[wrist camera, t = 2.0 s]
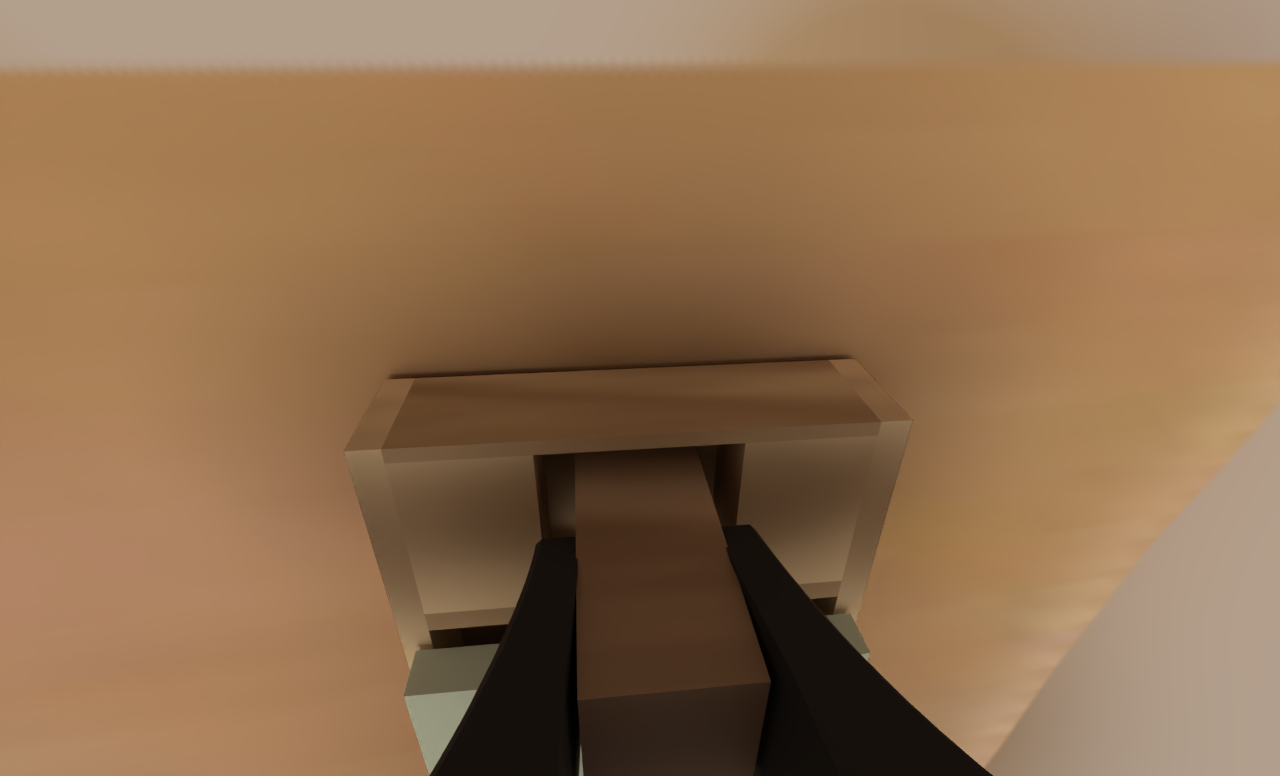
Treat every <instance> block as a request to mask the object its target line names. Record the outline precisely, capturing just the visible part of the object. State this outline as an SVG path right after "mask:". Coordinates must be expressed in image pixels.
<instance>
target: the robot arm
mask: <svg viewBox="0 0 1280 776" xmlns="http://www.w3.org/2000/svg"><path fill="white" fill-rule="evenodd" d="M721 527H722V530H723V534H724V537H725V540H726V543H727V546H728V547H726V549H727V553H728V556H729V559H730V562H731V565H732V567H733V569H734V571H735V574H736V576H737V578H738V581H739V583H740V587H741V590H742V593H743V596H744V599H745V602H746V605H747V608H748V611H749V615H750V618H751V621H752V624H753V627H754V630H755V633H756V636H757V640H758V643H759V646H760V649H761V652H762V655H763V658H764V661H765V664H766V668H767V671H768V674H769V677H770V680H771V684H770V690H769V695H768V700H767V706H766V711H765V716H764V722H763V727H762V732H761V738H760V743H759V748H758V754H757V759H756V764H755V770H754V775H753V776H993V775H992V774H990V773H989V772H988V771H986V770H985V769H984V768H983V767H982V766H980V765H979V764H978V763H977V762H976V761H974V760H973V759H972V758H971V757H970V756H969V755H968V754H966V753H965V752H964V751H963V750H962V749H961V748H959V747H958V746H957V745H956V744H955V743H954V742H953V741H951V740H950V739H949V738H948V737H947V736H946V735H944V734H943V733H942V732H941V731H940V730H939V729H938V728H937V727H935V726H934V725H933V724H932V723H931V722H930V721H929V720H928V719H927V718H926V717H925V716H923V715H922V714H921V713H920V712H919V711H918V710H917V709H916V708H915V707H914V706H913V705H911V704H910V703H909V702H908V701H907V700H906V699H905V698H904V697H903V696H902V695H901V694H900V693H899V692H898V691H897V690H896V689H895V688H894V687H893V686H892V685H891V684H890V683H889V682H888V681H887V680H886V679H885V678H884V677H883V676H882V675H881V674H880V673H879V672H878V671H877V670H876V669H875V668H874V667H873V666H872V665H871V664H870V663H869V662H868V661H867V660H866V659H865V658H864V657H863V656H862V655H861V654H860V653H859V652H858V651H857V650H856V649H855V648H854V647H853V646H852V644H851V643H850V642H849V641H848V640H847V639H846V638H845V637H844V636H843V635H842V634H841V633H840V632H839V630H838V629H837V628H836V627H835V626H834V625H833V624H832V622H831V621H830V620H829V619H828V618H827V617H826V616H825V615H824V613H823V612H822V611H821V610H820V609H819V608H818V607H817V605H816V604H815V603H814V602H813V601H812V600H811V599H810V597H809V596H808V595H807V594H806V593H805V592H804V590H803V589H802V588H801V587H800V586H799V584H798V583H797V582H796V581H795V579H794V578H793V577H792V576H791V575H790V573H789V572H788V571H787V570H786V568H785V567H784V566H783V565H782V563H781V562H780V561H779V560H778V558H777V557H776V556H775V555H774V553H773V552H772V551H771V549H770V548H769V547H768V546H767V544H766V543H765V542H764V540H763V539H762V538H761V536H760V535H759V534H758V532H757V531H756V530H755V529H754V528H753V527H752V526H751V525H750V524H747V525H733V526H721ZM577 578H578V558H577V559H576V537H562V538H548V539H541V540H540V541H539V542H538V543H537V544H536V546H535V550H534V555H533V559H532V562H531V565H530V569H529V572H528V575H527V578H526V581H525V583H524V586H523V589H522V592H521V594H520V597H519V599H518V602H517V605H516V607H515V610H514V612H513V614H512V617H511V619H510V621H509V624H508V626H507V628H506V630H505V633H504V635H503V637H502V640H501V642H500V644H499V647H498V649H497V651H496V653H495V655H494V657H493V659H492V662H491V664H490V665H489V667H488V669H487V671H486V673H485V675H484V677H483V679H482V681H481V683H480V685H479V687H478V689H477V691H476V693H475V695H474V697H473V699H472V701H471V703H470V705H469V707H468V709H467V711H466V713H465V715H464V716H463V718H462V720H461V722H460V724H459V725H458V727H457V729H456V731H455V733H454V734H453V736H452V738H451V740H450V741H449V743H448V745H447V747H446V748H445V750H444V752H443V754H442V755H441V757H440V759H439V760H438V762H437V764H436V765H435V767H434V769H433V770H432V772H431V774H430V775H429V776H579V766H580V749H581V739H580V727H579V714H578V702H577V619H576V587H577Z"/></svg>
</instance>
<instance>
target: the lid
mask: <svg viewBox="0 0 1280 776" xmlns="http://www.w3.org/2000/svg"><path fill="white" fill-rule="evenodd" d="M825 616H826V617H827V618H828V619H829V620H830V621H831V622H832V624H833V625H834V626H835V627H836V628H837V629H838V630H839V632H840V633H841V634H842V635H843V636H844V637H845V638H846V639H847V640H848V641H849V642H850V643H851V644H852V646H853V647H854V648H855V649H856V650H857V651H858V652H859V653H860V654H861V655H862V656H863V657H864V658H865V659H866V660H867V661H868V659H869V656H870V652H869V650H868V648H867V646H866V644H865V642H864V640H863V638H862V636H861V634H860V632H859V630H858V628H857V626H856V624H855V622H854V620H853V618H852V616H851V614H850V613H848V614H837V615H825ZM498 647H499V644H489V645H477V646H465V647H454V648H442V649H431V650H419V651H416V652H415V655H414V659H413V663H412V667H411V671H410V675H409V679H408V682H407V686H406V690H405V694H404V699H405V702H406V705H407V708H408V711H409V714H410V717H411V720H412V723H413V726H414V730H415V733H416V736H417V739H418V742H419V745H420V748H421V751H422V754H423V757H424V760H425V763H426V767H427V770H428V773H429V775H430V774H431V772H432V770H433V769H434V767H435V765H436V764H437V762H438V760H439V759H440V757H441V755H442V754H443V752H444V750H445V748H446V747H447V745H448V743H449V741H450V740H451V738H452V736H453V734H454V733H455V731H456V729H457V727H458V725H459V724H460V722H461V720H462V718H463V716H464V715H465V713H466V711H467V709H468V707H469V705H470V703H471V701H472V699H473V697H474V695H475V693H476V691H477V689H478V687H479V685H480V683H481V681H482V679H483V677H484V675H485V673H486V671H487V669H488V667H489V665H490V664H491V662H492V659H493V657H494V655H495V653H496V651H497V649H498ZM579 776H583V764H582V751H581V749H580V766H579Z"/></svg>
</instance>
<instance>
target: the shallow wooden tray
mask: <svg viewBox="0 0 1280 776" xmlns="http://www.w3.org/2000/svg"><path fill="white" fill-rule="evenodd" d="M912 421H913V420H912V419H911V418H910V417H909V416H908V415H907V413H906V412H905V411H904V410H903V409H902V408H901V407H900V406H899V405H898V404H897V403H896V402H895V401H894V400H893V399H892V398H891V396H890V395H889V394H888V393H887V392H886V391H885V390H884V389H883V388H882V387H881V386H880V385H879V384H878V383H877V382H876V381H875V379H874V378H873V377H872V376H871V375H870V374H869V373H868V372H867V371H866V370H865V369H864V368H863V367H862V366H861V365H860V364H859V362H858V361H857V360H856V359H839V360H816V361H794V362H771V363H748V364H726V365H703V366H681V367H658V368H635V369H613V370H590V371H568V372H545V373H522V374H500V375H477V376H455V377H432V378H409V379H387V380H384V382H383V384H382V385H381V387H380V389H379V391H378V392H377V394H376V396H375V398H374V399H373V401H372V403H371V405H370V406H369V408H368V410H367V411H366V413H365V415H364V417H363V418H362V420H361V422H360V424H359V425H358V427H357V429H356V431H355V432H354V434H353V436H352V438H351V439H350V441H349V443H348V445H347V446H346V448H345V450H344V455H345V458H346V461H347V464H348V468H349V471H350V474H351V478H352V481H353V484H354V487H355V491H356V494H357V497H358V501H359V504H360V507H361V510H362V514H363V517H364V520H365V524H366V527H367V530H368V534H369V537H370V540H371V543H372V547H373V550H374V553H375V557H376V560H377V563H378V566H379V570H380V573H381V576H382V580H383V583H384V586H385V589H386V593H387V596H388V599H389V603H390V606H391V609H392V612H393V616H394V619H395V622H396V626H397V629H398V632H399V635H400V639H401V642H402V645H403V649H404V652H405V655H406V658H407V662H408V665H409V668H410V671H411V667H412V663H413V659H414V655H415V652H416V651H419V650H431V649H442V648H454V647H465V646H477V645H489V644H500V642H501V640H502V637H503V635H504V633H505V630H506V628H507V626H508V624H509V621H510V619H511V617H512V614H513V612H514V610H515V607H516V605H517V602H518V599H519V597H520V594H521V592H522V589H523V586H524V583H525V581H526V578H527V575H528V572H529V569H530V565H531V562H532V559H533V555H534V550H535V546H536V544H537V543H538V542H539V541H540V540H541V539H548V538H562V537H576V525H575V453H581V452H599V451H616V450H634V449H651V448H669V447H686V446H696V449H697V453H698V456H699V459H700V462H701V465H702V468H703V471H704V474H705V477H706V481H707V484H708V487H709V490H710V493H711V496H712V499H713V502H714V506H715V509H716V512H717V515H718V518H719V521H720V524H721V526H733V525H747V524H750V525H751V526H752V527H753V528H754V529H755V530H756V531H757V532H758V534H759V535H760V536H761V538H762V539H763V540H764V542H765V543H766V544H767V546H768V547H769V548H770V549H771V551H772V552H773V553H774V555H775V556H776V557H777V558H778V560H779V561H780V562H781V563H782V565H783V566H784V567H785V568H786V570H787V571H788V572H789V573H790V575H791V576H792V577H793V578H794V579H795V581H796V582H797V583H798V584H799V586H800V587H801V588H802V589H803V590H804V592H805V593H806V594H807V595H808V596H809V597H810V599H811V600H812V601H813V602H814V603H815V604H816V605H817V607H818V608H819V609H820V610H821V611H822V612H823V613H824V615H837V614H848V613H850V614H851V616H852V618H853V620H854V622H855V624H856V620H857V617H858V613H859V610H860V606H861V602H862V599H863V595H864V592H865V588H866V585H867V581H868V578H869V574H870V570H871V567H872V563H873V560H874V556H875V553H876V549H877V546H878V542H879V539H880V535H881V531H882V528H883V524H884V521H885V517H886V514H887V510H888V507H889V503H890V499H891V496H892V492H893V489H894V485H895V482H896V478H897V475H898V471H899V467H900V464H901V460H902V457H903V453H904V450H905V446H906V443H907V439H908V436H909V432H910V428H911V425H912Z"/></svg>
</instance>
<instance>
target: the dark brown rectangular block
mask: <svg viewBox="0 0 1280 776" xmlns="http://www.w3.org/2000/svg"><path fill="white" fill-rule="evenodd" d="M575 525H576V559H577V558H578V578H577V587H576V619H577V702H578V714H579V727H580V739H581V751H582V764H583V776H753V775H754V770H755V764H756V759H757V754H758V748H759V743H760V738H761V732H762V727H763V722H764V716H765V711H766V706H767V700H768V695H769V690H770V684H771V680H770V677H769V674H768V671H767V668H766V664H765V661H764V658H763V655H762V652H761V649H760V646H759V643H758V640H757V636H756V633H755V630H754V627H753V624H752V621H751V618H750V615H749V611H748V608H747V605H746V602H745V599H744V596H743V593H742V590H741V587H740V583H739V581H738V578H737V576H736V574H735V571H734V569H733V567H732V565H731V562H730V559H729V556H728V553H727V549H726V547H728V546H727V543H726V540H725V537H724V534H723V530H722V527H721V524H720V521H719V518H718V515H717V512H716V509H715V506H714V502H713V499H712V496H711V493H710V490H709V487H708V484H707V481H706V477H705V474H704V471H703V468H702V465H701V462H700V459H699V456H698V453H697V449H696V446H686V447H669V448H651V449H634V450H616V451H599V452H581V453H575Z"/></svg>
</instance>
